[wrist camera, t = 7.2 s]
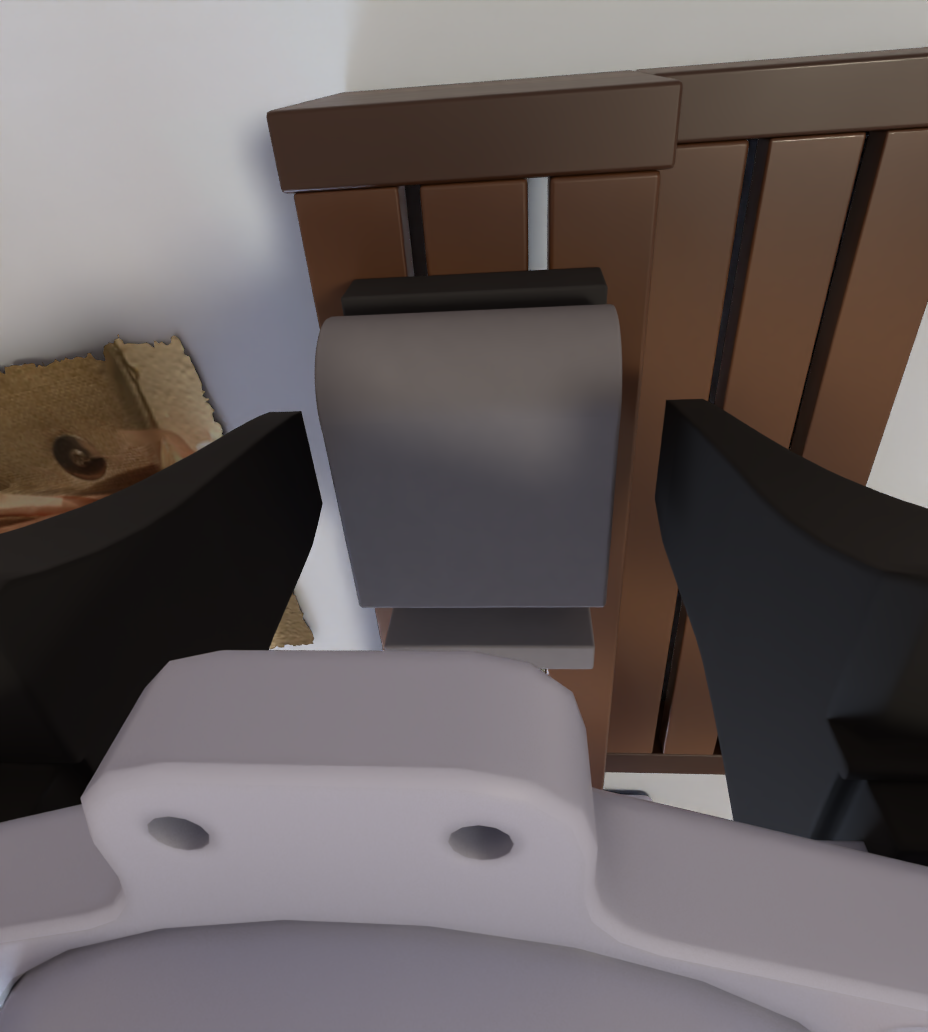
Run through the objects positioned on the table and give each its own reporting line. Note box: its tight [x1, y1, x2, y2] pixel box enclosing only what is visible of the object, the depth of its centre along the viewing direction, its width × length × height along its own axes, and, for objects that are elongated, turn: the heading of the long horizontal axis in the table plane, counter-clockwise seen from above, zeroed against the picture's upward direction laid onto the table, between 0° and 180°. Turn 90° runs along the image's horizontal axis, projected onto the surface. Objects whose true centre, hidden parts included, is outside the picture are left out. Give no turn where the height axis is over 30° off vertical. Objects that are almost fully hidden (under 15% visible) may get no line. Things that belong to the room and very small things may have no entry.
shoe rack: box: [266, 47, 928, 790], centre depth 18 cm, size 22×13×6 cm, turn 4°
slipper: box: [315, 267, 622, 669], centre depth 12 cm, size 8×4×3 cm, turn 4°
